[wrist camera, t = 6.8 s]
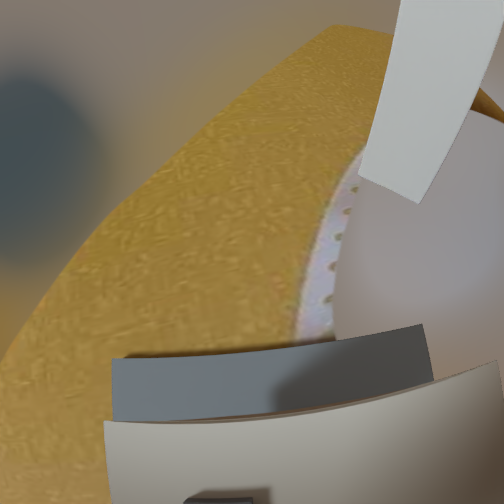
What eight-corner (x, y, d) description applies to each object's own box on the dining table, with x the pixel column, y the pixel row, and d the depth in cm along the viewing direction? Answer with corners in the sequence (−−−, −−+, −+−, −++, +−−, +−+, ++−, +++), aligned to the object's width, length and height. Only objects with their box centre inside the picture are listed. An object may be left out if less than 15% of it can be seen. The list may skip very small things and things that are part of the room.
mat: (437, 489, 13) (445, 491, 12) (132, 526, 13) (126, 531, 12) (415, 327, 19) (422, 323, 18) (118, 361, 19) (112, 358, 18)
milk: (374, 138, 28) (419, -78, 8) (430, 164, 26) (503, -44, 7) (356, 176, 25) (410, -90, 6) (419, 207, 23) (520, -44, 4)
